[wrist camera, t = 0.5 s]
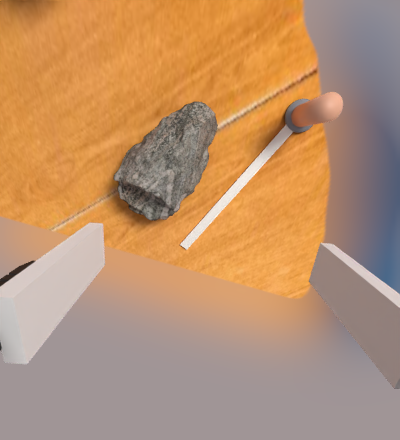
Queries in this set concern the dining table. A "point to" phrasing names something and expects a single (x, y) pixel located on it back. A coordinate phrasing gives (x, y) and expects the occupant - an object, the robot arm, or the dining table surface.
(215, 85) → the dining table surface
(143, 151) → the rock
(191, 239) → the crank handle
